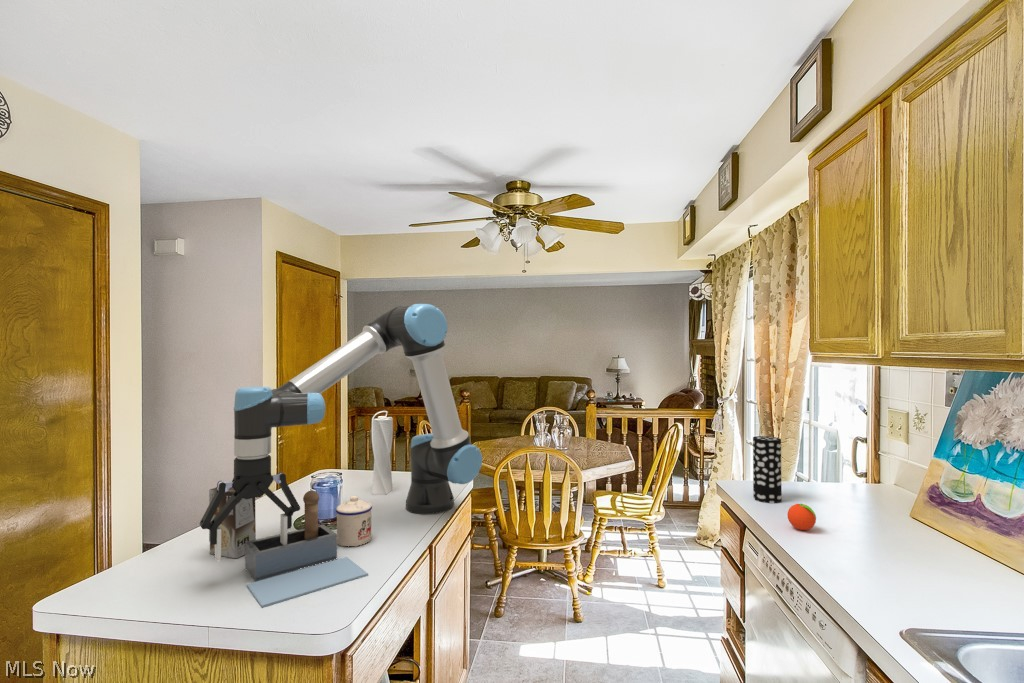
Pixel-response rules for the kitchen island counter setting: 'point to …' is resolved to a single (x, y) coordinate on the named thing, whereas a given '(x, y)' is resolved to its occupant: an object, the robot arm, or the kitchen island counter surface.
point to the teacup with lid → (353, 522)
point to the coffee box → (235, 525)
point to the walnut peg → (311, 514)
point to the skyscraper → (382, 453)
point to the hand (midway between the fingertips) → (252, 550)
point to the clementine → (801, 516)
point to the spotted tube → (767, 469)
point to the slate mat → (304, 581)
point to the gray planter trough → (289, 553)
